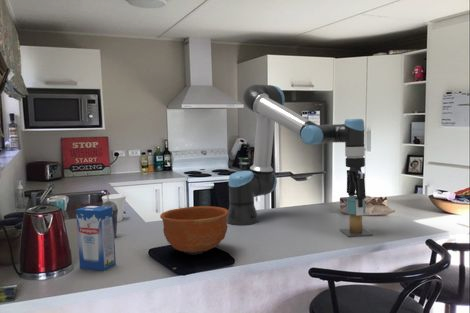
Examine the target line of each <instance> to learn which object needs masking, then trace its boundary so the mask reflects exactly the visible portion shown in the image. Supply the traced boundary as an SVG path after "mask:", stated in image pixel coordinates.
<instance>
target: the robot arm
mask: <svg viewBox="0 0 470 313" xmlns="http://www.w3.org/2000/svg"><path fill="white" fill-rule="evenodd" d="M284 94H285V93H284V91H283V90H282V89H281V88H280V87H278V86H276V85H271V84H267V85H266V84H251V85H249V86H248V87H247V88H246V89H245V90H244V92H243V94H242V102H243V104H244V106H245V107H246V108H247V109H249V110H250V111H252V112H253V113H254V115H256V128H255V138H254V139H255V140H254V152H253V164H252V165H251V166H249V170H243V171H241V170H240V171H236V172H233V173H231V174H230V175H229V177H228V193H229V194H228V196H229V206H228V207H229V208H228V209H227V210H228V211H229V214H228V216H227V224H229V225H236V226H246V225H253V224H256V223H258V222H259V215H258V213H257V209H256V206H255V198H256V197H260V196H266V195H269V194H270V193H272V192H274V191H275V189H276V188H277V184H278V183H277V182H278V179H277V176H276V174H275V173H274V168H273V167H272V155H273V144H274V135H275V134H274V132H275V123H277V124H278V125H279V126H282V127H283V128H285V129H287V130H289V131H290V132H292V133H294V134H295V135H297V136H298V137H300V138H301V140H302V141H303V143H304V144H306V145H308V146H310V145H311V146H317V145H321V144H330V143H331V144H333V143H344V145H345V147H344V151H345V152H344V156H345V157H346V158H345V167H347V168H349V169H347V170H346V194H347V195H348V197H357V198H355V200H356V215H362V216H364V214H363V199H364V198H365V199H366V181H365V179H366V173H365V172H362V168H364V167H365V166H366V159H365V151H366V148H365V145H366V144H365V130H366V129H365V122H364V119H363V118H349V119H344V123H339V124H336V123H335V124H317V123H315V122H313V121H311V120H309V119H308V118H307V117H304V116H302V115H300V114H299V113H297V112H295V111H294V110H292V109H290V108H288V107H286V106H284V105H285V100H286V99H285V98H286V97H285V95H284Z"/></svg>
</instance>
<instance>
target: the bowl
mask: <svg viewBox="0 0 470 313" xmlns="http://www.w3.org/2000/svg"><path fill="white" fill-rule="evenodd" d="M228 210H229V209H227V208H225V207H220V206H211V205H210V206H209V205H208V206H205V205H199V206H186V207H179V208H173V209H169V210H166V211H164V212H162V213H161V214H160V215H159V217H160V219H162V224H163V231H162V232H163V234H164V237H165V239H166V241H167V243H169V244H170V245H171V247H173V249H174V250H177V251H179V252H184V253H185V252H189V253H197V252H202V251H206V252H207V251H209V250H211V249H214V248H215V247H217V246H218V245H219V244H220V243H221V242H222V240H224V239H225V237H226V234H227V232H228V223H227V216H228V214H229V211H228Z"/></svg>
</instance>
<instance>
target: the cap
mask: <svg viewBox="0 0 470 313" xmlns="http://www.w3.org/2000/svg"><path fill="white" fill-rule="evenodd" d="M355 198H357V196H356V197H349V196H348V197H347V198H346V213H347V214H355V215H356V200H355ZM364 214H366V198H364V199H363V215H364Z"/></svg>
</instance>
